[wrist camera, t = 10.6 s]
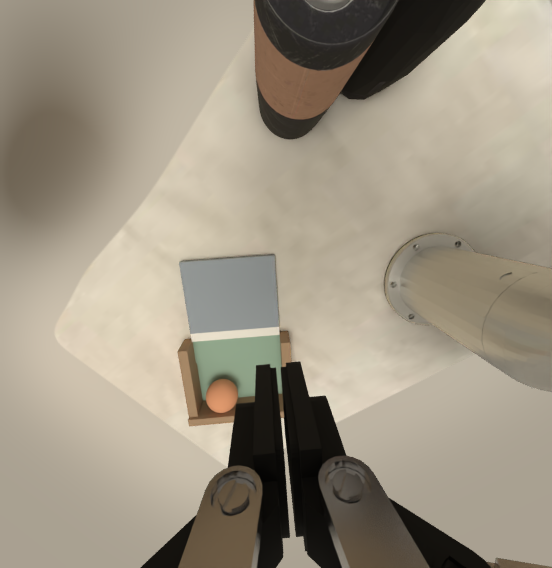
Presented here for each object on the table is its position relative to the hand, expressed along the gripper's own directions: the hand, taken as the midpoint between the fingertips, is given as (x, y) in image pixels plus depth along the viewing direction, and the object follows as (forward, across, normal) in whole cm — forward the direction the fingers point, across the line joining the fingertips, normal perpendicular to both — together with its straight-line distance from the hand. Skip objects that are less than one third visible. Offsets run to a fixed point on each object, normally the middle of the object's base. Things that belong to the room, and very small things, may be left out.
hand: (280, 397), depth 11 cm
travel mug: (+27, -4, -18) cm, 33 cm away
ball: (+25, +8, +18) cm, 31 cm away
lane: (+27, +5, +10) cm, 29 cm away
